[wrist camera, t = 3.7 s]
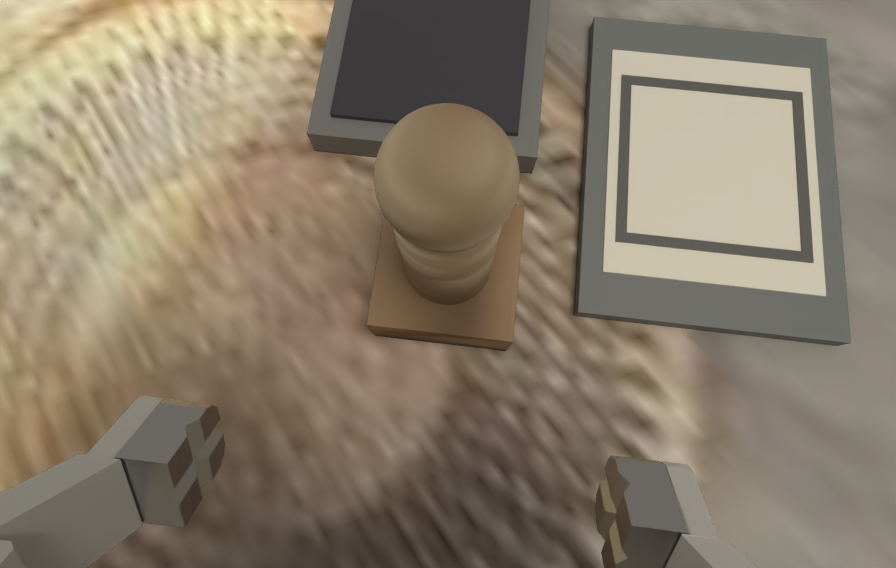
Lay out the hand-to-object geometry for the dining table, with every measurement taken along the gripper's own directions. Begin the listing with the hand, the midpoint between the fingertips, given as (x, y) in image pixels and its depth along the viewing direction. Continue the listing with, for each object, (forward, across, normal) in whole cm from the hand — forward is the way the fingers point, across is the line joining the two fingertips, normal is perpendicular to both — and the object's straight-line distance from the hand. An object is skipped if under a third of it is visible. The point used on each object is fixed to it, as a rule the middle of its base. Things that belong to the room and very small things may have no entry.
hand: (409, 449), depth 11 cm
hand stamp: (+14, 0, +4) cm, 14 cm away
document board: (+19, -12, -1) cm, 22 cm away
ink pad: (+22, +2, -4) cm, 22 cm away
